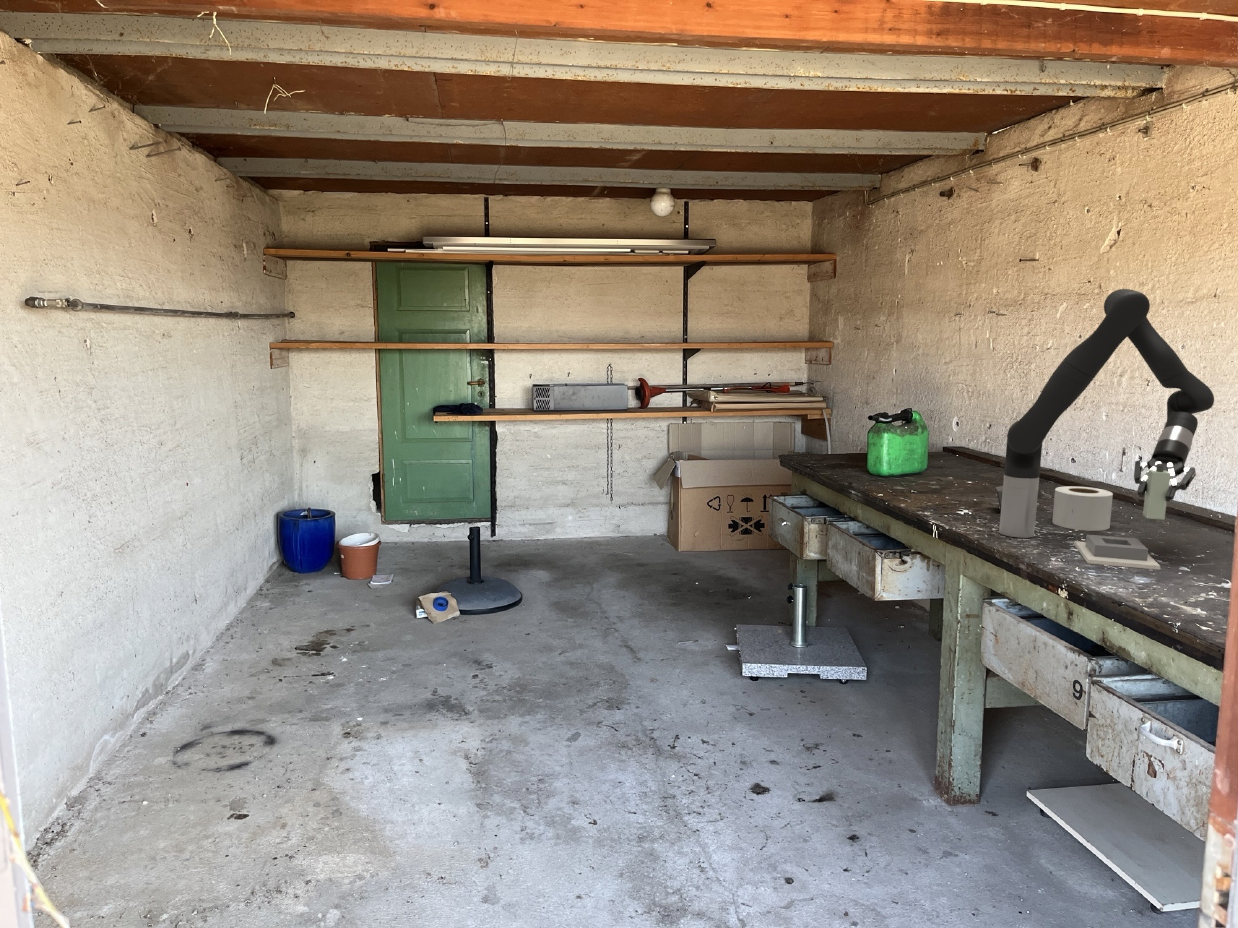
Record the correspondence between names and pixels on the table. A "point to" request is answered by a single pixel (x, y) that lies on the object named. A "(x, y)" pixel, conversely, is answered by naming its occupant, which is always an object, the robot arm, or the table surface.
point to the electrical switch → (999, 494)
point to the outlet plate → (1114, 560)
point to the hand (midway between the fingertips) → (1154, 497)
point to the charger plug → (1156, 493)
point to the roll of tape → (1082, 508)
